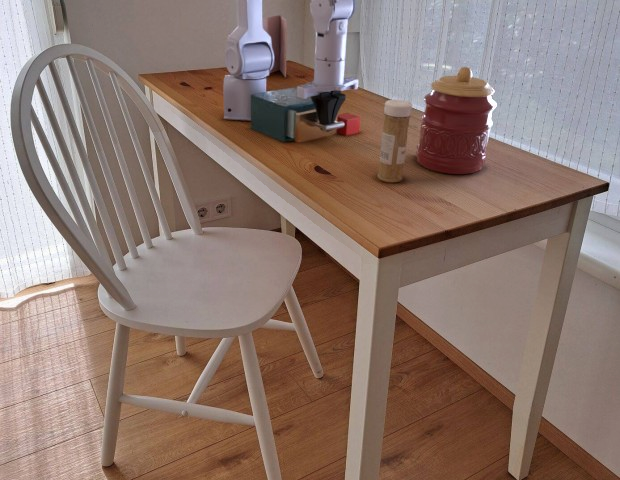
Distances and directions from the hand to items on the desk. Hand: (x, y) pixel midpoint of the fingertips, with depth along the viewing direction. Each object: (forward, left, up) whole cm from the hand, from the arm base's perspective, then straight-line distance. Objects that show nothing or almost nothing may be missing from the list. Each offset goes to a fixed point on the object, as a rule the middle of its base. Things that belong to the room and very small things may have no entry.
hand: (326, 130), depth 118 cm
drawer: (-4, +4, -2) cm, 5 cm away
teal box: (-8, +8, -3) cm, 12 cm away
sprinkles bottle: (+12, -17, -3) cm, 21 cm away
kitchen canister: (+24, -7, -3) cm, 25 cm away
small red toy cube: (+4, +10, -3) cm, 11 cm away
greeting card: (-16, +63, -3) cm, 65 cm away
